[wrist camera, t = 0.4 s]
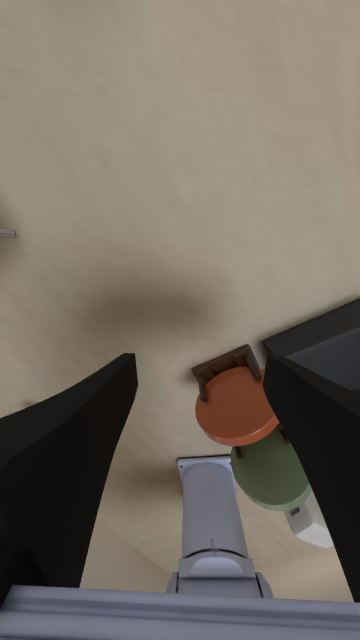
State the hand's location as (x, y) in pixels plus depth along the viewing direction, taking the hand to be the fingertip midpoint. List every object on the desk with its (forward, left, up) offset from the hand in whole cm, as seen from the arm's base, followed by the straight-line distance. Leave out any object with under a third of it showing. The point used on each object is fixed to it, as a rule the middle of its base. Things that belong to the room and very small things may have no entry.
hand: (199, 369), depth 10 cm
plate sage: (-15, -6, -5) cm, 17 cm away
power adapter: (-30, -14, -10) cm, 35 cm away
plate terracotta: (-7, -3, -5) cm, 9 cm away
